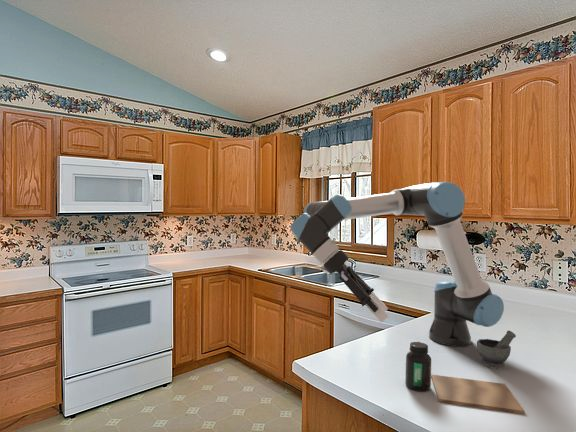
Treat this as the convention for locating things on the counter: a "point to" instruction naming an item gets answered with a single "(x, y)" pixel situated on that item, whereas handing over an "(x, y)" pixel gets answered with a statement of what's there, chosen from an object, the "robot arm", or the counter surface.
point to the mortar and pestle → (495, 350)
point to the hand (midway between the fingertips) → (384, 314)
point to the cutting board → (475, 394)
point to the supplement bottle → (418, 367)
